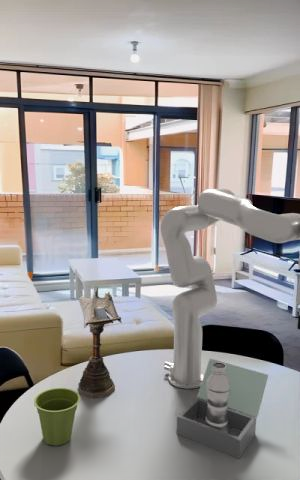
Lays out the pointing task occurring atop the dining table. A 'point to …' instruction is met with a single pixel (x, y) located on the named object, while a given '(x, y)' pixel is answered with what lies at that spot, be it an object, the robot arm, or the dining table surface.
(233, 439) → the grey open box
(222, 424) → the plastic bottle
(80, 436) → the dining table surface
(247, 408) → the cover
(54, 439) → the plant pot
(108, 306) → the ornate pedestal stand
